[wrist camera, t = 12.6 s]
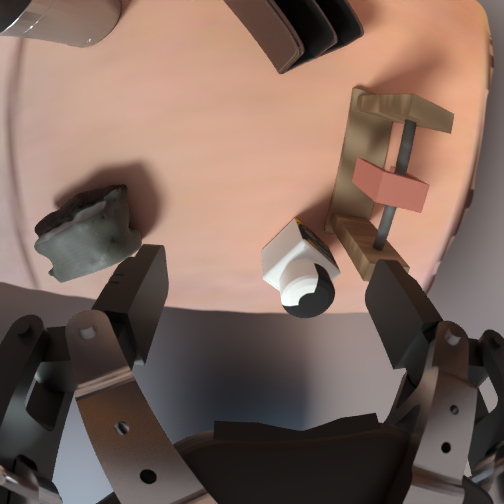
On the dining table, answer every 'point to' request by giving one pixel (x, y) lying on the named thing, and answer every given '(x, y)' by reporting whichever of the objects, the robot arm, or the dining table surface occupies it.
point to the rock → (88, 233)
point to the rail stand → (374, 150)
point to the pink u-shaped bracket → (390, 186)
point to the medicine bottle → (300, 270)
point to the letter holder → (298, 28)
